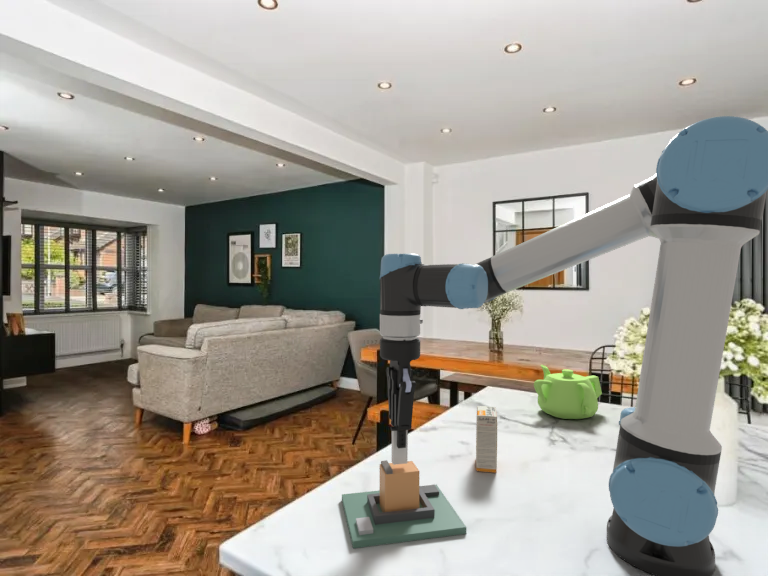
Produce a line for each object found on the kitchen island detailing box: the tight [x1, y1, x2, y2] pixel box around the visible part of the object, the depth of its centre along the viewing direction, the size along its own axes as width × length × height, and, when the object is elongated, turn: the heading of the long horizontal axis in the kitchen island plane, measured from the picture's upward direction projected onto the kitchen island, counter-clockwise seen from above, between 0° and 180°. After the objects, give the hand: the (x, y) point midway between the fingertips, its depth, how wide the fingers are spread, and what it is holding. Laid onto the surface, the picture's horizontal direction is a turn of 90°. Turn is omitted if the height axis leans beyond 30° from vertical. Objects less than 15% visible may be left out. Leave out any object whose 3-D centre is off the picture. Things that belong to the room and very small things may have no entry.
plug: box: [379, 459, 420, 512], centre depth 83 cm, size 4×6×9 cm
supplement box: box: [475, 405, 498, 474], centre depth 105 cm, size 8×5×13 cm, turn 168°
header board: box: [341, 484, 467, 549], centre depth 83 cm, size 16×20×3 cm
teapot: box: [533, 364, 603, 420], centre depth 145 cm, size 19×20×14 cm
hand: (399, 462), depth 83 cm, fingers closed
